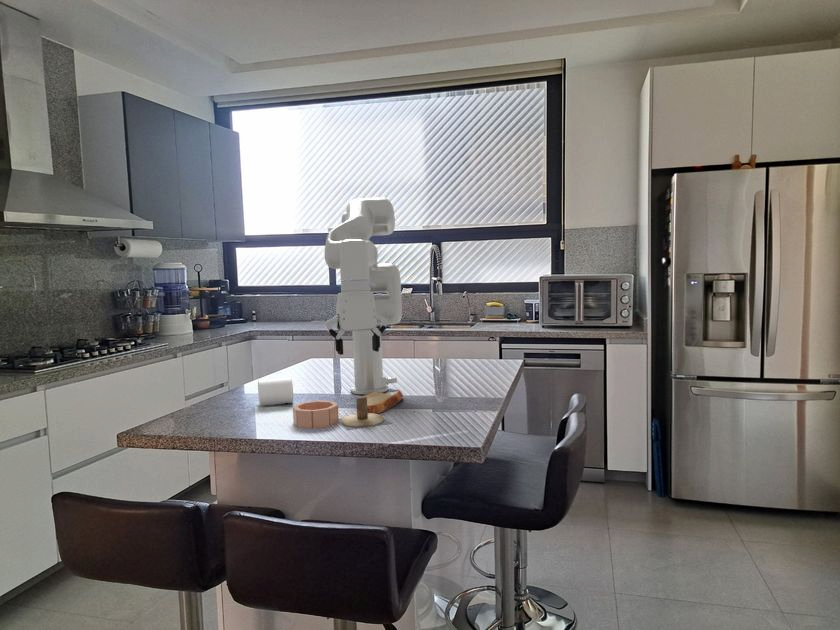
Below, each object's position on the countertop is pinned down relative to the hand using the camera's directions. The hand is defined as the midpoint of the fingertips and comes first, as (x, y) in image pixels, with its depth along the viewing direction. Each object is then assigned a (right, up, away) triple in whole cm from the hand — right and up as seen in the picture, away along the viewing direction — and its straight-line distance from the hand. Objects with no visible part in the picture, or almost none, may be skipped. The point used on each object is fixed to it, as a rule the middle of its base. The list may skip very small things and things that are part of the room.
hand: (358, 352), depth 152 cm
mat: (+1, -19, +1) cm, 19 cm away
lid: (+1, -18, +1) cm, 18 cm away
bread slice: (+5, -17, +19) cm, 26 cm away
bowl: (-11, -19, +2) cm, 22 cm away
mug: (-29, -18, +29) cm, 45 cm away
